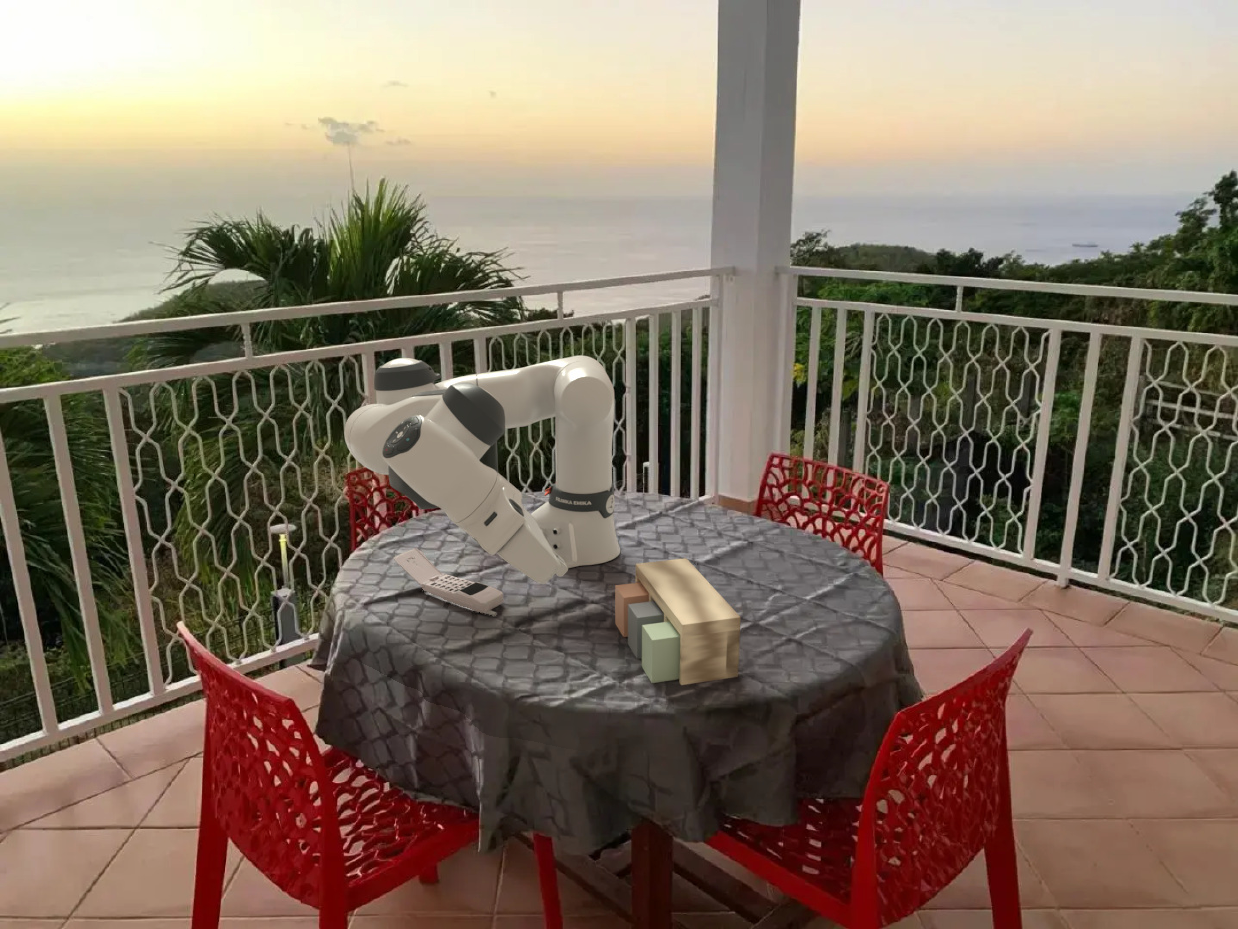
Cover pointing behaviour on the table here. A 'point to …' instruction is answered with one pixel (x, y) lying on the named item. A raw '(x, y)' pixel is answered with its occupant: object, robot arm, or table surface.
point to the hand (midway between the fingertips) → (563, 569)
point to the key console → (694, 619)
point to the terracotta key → (624, 597)
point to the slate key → (641, 623)
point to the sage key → (661, 652)
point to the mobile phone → (449, 584)
